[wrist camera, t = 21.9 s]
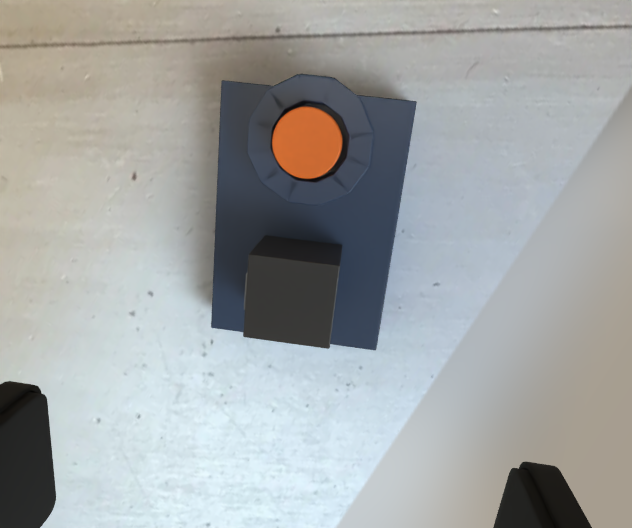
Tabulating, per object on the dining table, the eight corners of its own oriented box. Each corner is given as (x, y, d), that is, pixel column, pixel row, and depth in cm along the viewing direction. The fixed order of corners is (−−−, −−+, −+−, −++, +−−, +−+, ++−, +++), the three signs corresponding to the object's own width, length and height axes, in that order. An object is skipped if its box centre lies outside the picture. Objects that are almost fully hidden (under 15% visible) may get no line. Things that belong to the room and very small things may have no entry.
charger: (342, 244, 25) (340, 265, 21) (333, 317, 26) (329, 349, 23) (261, 234, 25) (244, 253, 22) (255, 306, 27) (239, 336, 23)
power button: (280, 104, 22) (274, 102, 20) (346, 112, 22) (345, 110, 20) (275, 171, 23) (269, 174, 21) (338, 178, 23) (336, 182, 21)
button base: (233, 73, 25) (210, 64, 21) (413, 93, 25) (423, 86, 21) (221, 313, 29) (201, 341, 26) (374, 334, 29) (377, 365, 25)
